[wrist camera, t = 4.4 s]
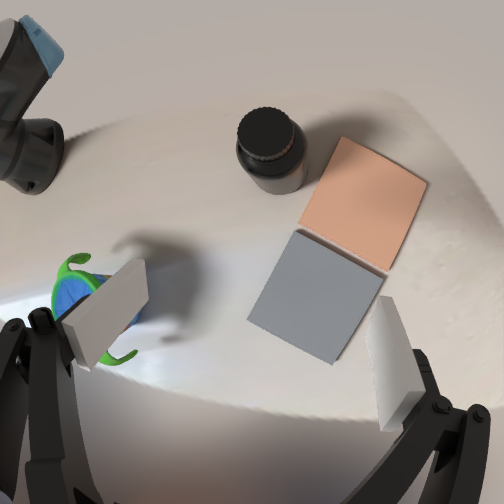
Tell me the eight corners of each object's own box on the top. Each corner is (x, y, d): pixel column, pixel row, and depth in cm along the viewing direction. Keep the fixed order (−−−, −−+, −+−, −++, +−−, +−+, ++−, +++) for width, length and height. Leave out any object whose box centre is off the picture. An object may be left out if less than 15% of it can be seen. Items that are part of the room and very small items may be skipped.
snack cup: (83, 266, 40) (36, 270, 31) (128, 237, 38) (79, 235, 28) (120, 357, 40) (78, 381, 30) (171, 340, 38) (131, 366, 28)
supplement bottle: (317, 184, 33) (319, 153, 21) (263, 204, 35) (239, 184, 23) (295, 134, 34) (287, 86, 22) (244, 154, 35) (214, 115, 23)
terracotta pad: (298, 223, 34) (298, 223, 33) (341, 138, 32) (341, 135, 32) (385, 271, 32) (387, 272, 31) (424, 185, 30) (426, 183, 30)
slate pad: (247, 318, 35) (246, 319, 34) (294, 231, 34) (294, 230, 33) (331, 362, 33) (332, 365, 33) (381, 278, 32) (383, 279, 31)
